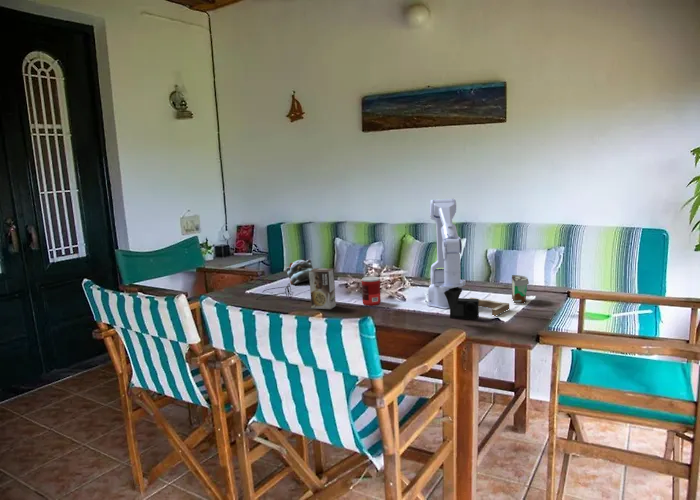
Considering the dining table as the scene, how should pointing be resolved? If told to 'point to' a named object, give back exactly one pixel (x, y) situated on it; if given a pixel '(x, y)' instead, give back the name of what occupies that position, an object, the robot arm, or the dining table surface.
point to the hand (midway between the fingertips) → (452, 308)
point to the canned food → (371, 291)
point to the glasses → (280, 293)
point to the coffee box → (322, 288)
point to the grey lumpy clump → (299, 271)
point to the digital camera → (466, 309)
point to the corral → (493, 306)
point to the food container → (519, 288)
